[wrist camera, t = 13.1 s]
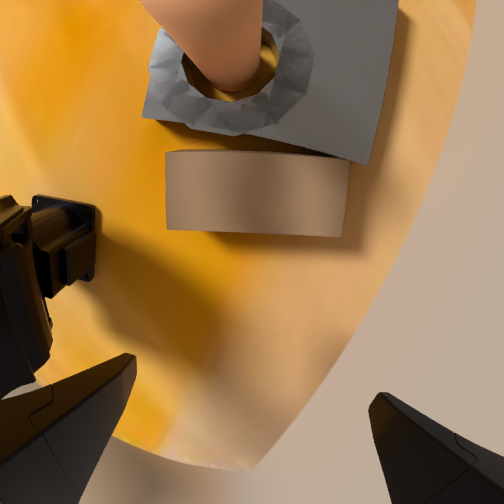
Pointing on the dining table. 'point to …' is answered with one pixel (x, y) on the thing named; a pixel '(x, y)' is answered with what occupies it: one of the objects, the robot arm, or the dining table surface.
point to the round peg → (215, 36)
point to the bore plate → (294, 79)
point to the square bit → (256, 192)
